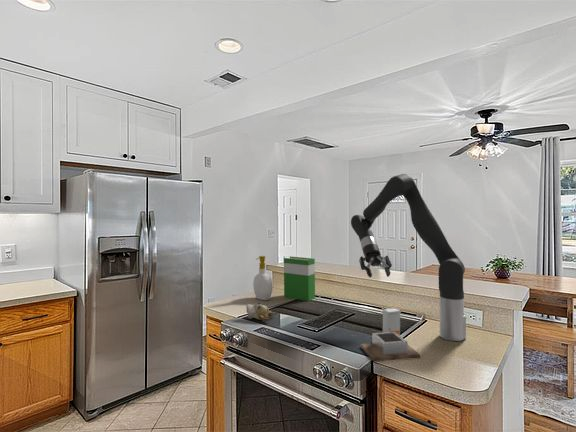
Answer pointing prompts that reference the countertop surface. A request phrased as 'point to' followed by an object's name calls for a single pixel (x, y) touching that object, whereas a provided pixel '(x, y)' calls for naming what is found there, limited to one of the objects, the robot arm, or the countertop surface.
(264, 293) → the soap bottle
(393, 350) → the steel slot collar
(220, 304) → the countertop surface
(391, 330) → the skincare box
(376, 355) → the walnut board
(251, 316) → the ceramic sculpture
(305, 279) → the green cereal box
